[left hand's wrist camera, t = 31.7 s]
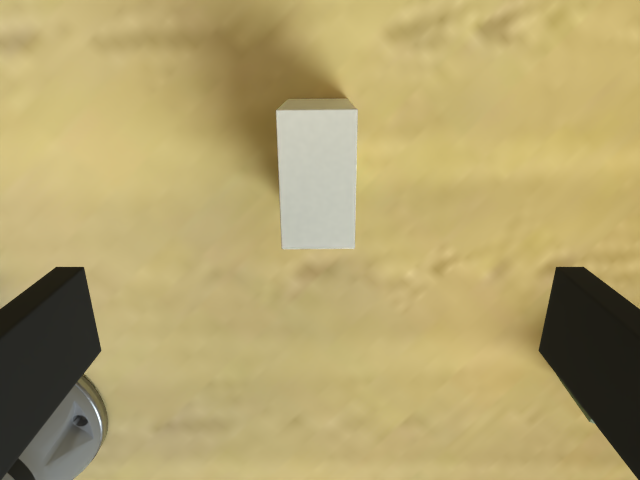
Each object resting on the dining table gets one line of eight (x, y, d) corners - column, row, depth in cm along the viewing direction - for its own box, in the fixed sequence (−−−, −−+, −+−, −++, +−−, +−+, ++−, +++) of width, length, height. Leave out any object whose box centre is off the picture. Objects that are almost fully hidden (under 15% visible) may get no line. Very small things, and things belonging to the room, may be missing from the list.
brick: (347, 98, 34) (357, 109, 25) (346, 205, 37) (354, 248, 28) (287, 98, 34) (275, 109, 25) (290, 205, 37) (281, 249, 28)
